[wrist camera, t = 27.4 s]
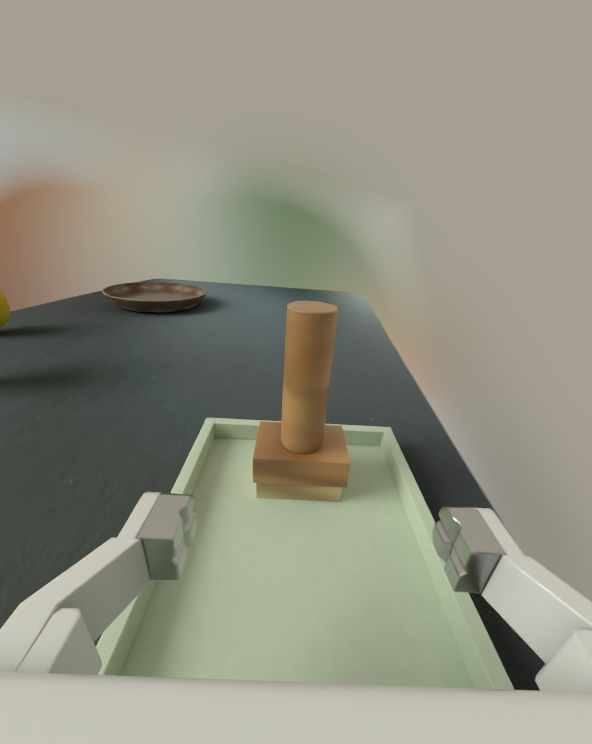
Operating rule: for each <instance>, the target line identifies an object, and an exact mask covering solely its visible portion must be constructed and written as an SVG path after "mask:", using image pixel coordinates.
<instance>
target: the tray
mask: <svg viewBox="0 0 592 744" xmlns="http://www.w3.org/2000/svg"><path fill="white" fill-rule="evenodd" d="M260 421H263V420H244V419H225V418H207V419H206V421H205V423H204V425H203V427H202V429H201V431H200V433H199V435H198V437H197V439H196V441H195V443H194V446H193V448H192V450H191V452H190V454H189V456H188V458H187V460H186V462H185V464H184V466H183V468H182V470H181V472H180V475H179V477H178V479H177V481H176V483H175V485H174V487H173V489H172V491H171V493H174V494H187V495H194V498H195V505H194V508H193V510H194V511H195V512H196V514H197V526H196V531H195V536H194V539H193V542H192V544H191V545H190V546H189V547H188V548H187V549H186V553H187V560H186V563H185V566H184V569H183V572H182V574H181V577H180V580H151V582H150V583H149V584H148V585H147V586H146V587H145V588H144V589H143V590H142V591H141V592H140V594H139V595H138V596H137V597H136V598H135V599H134V600H133V601H132V602H131V603H130V604H129V605H128V606H127V607H126V608H125V610H124V611H123V612H122V613H121V614H120V615H119V616H118V617H117V618H116V619H115V620H114V621H113V622H112V623H111V624H110V625H109V627H108V628H107V629H106V630H105V631H104V632H103V634H102V636H101V638H100V640H99V642H98V644H97V646H96V649H97V651H98V653H99V656H100V658H101V661H102V667H101V669H100V672H99V674H98V675H117V676H145V677H173V678H201V679H229V680H257V681H285V682H313V683H340V684H368V685H395V686H423V687H451V688H478V689H506V690H514V688H513V685H512V683H511V681H510V679H509V677H508V675H507V673H506V671H505V669H504V666H503V664H502V662H501V660H500V658H499V656H498V654H497V652H496V650H495V647H494V645H493V643H492V641H491V639H490V637H489V635H488V633H487V631H486V628H485V626H484V624H483V622H482V620H481V618H480V616H479V614H478V612H477V609H476V607H475V605H474V603H473V601H472V599H471V597H470V595H469V593H466V592H454V591H453V589H452V587H451V584H450V582H449V580H448V577H447V575H446V573H445V571H444V567H445V563H446V562H445V561H444V560H443V559H441V558H440V557H439V556H438V554H437V552H436V550H435V547H434V543H433V533H432V531H433V528H434V525H435V521H434V519H433V517H432V514H431V512H430V510H429V508H428V506H427V504H426V502H425V500H424V498H423V495H422V493H421V491H420V489H419V487H418V485H417V483H416V481H415V479H414V476H413V474H412V472H411V470H410V468H409V466H408V464H407V462H406V460H405V457H404V455H403V453H402V451H401V449H400V447H399V445H398V443H397V441H396V438H395V436H394V434H393V432H392V430H391V428H390V427H375V426H356V425H337V424H325V425H337V426H342V428H343V432H344V437H345V441H346V446H347V450H348V455H349V459H350V463H351V464H350V470H349V475H348V481H347V486H346V487H342V493H341V499H340V502H334V501H314V500H294V499H273V498H256V483H253V454H254V449H255V444H256V439H257V434H258V429H259V424H260ZM264 422H281V421H264Z"/></svg>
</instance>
